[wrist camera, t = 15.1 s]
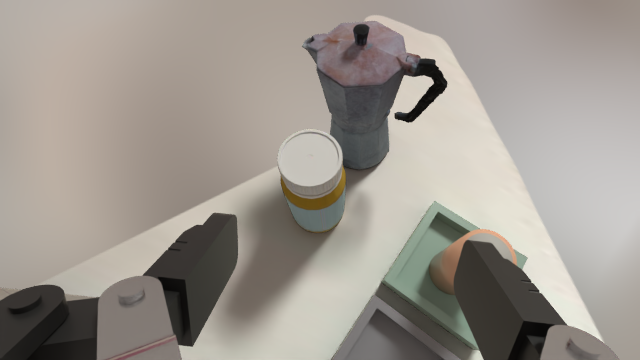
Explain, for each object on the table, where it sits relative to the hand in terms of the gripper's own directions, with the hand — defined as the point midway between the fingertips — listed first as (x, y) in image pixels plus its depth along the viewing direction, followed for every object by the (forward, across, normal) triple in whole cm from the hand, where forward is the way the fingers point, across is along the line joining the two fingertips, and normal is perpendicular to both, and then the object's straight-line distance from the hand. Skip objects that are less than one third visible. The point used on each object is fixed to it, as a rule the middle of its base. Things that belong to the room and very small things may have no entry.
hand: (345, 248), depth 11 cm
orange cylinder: (+23, -14, +17) cm, 32 cm away
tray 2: (+24, -14, +17) cm, 32 cm away
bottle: (+29, +3, +13) cm, 32 cm away
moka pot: (+36, -3, +6) cm, 37 cm away
